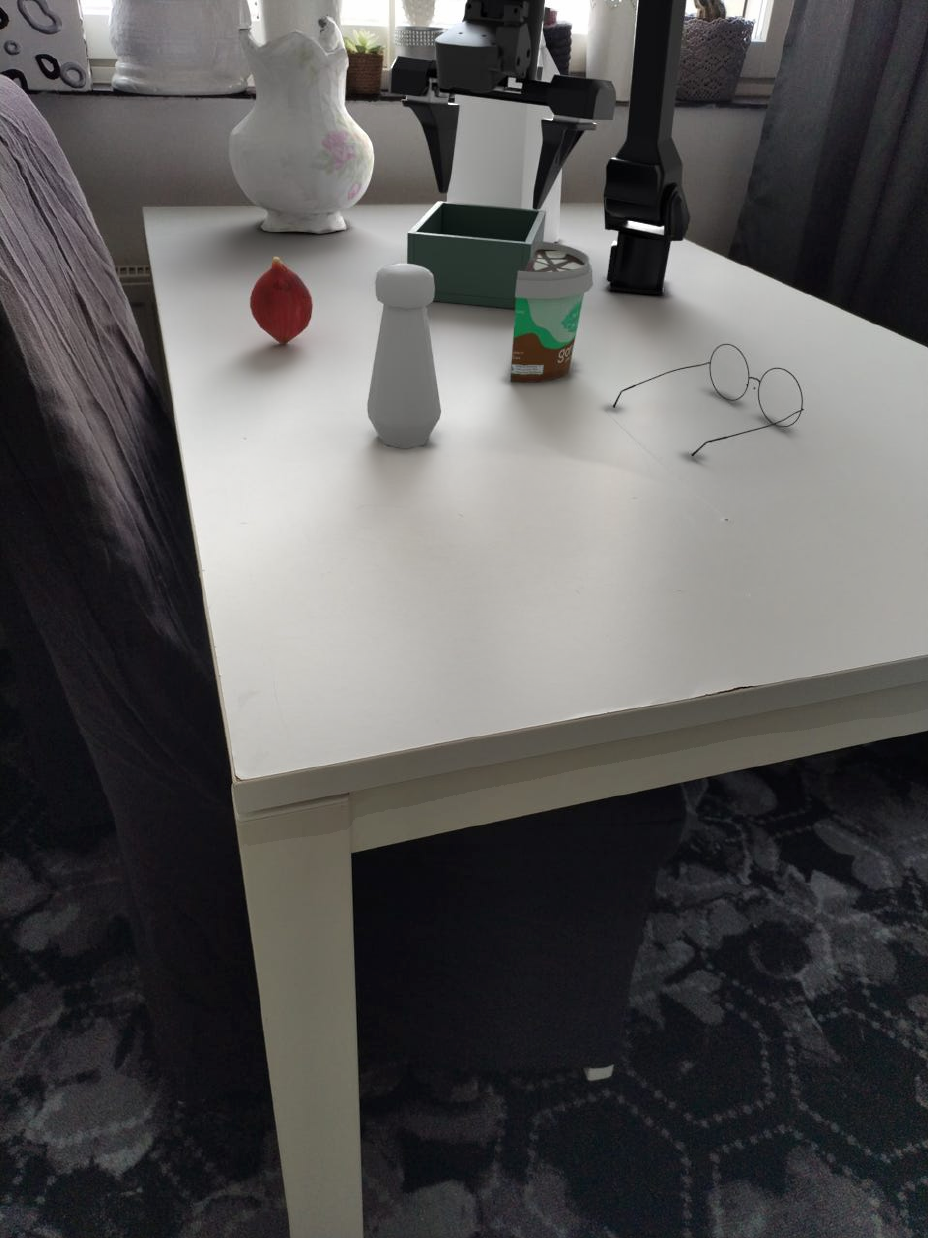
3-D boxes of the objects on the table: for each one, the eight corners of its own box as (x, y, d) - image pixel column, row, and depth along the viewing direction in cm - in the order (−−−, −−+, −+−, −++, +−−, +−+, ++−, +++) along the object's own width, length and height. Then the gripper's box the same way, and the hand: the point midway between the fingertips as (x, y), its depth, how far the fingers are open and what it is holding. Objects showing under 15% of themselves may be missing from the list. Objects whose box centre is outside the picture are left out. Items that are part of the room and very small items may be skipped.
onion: (324, 338, 88) (320, 254, 83) (297, 357, 84) (291, 269, 79) (272, 329, 89) (265, 246, 85) (242, 347, 85) (234, 260, 80)
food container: (575, 395, 79) (589, 280, 73) (507, 386, 80) (516, 272, 74) (587, 350, 89) (601, 245, 83) (526, 343, 90) (536, 238, 84)
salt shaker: (367, 421, 73) (364, 255, 65) (437, 422, 73) (442, 257, 65) (367, 452, 68) (364, 277, 60) (442, 453, 68) (448, 279, 61)
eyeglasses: (699, 462, 69) (713, 401, 66) (604, 403, 78) (613, 347, 75) (802, 439, 74) (820, 381, 71) (702, 386, 83) (714, 332, 80)
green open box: (540, 269, 113) (546, 210, 109) (525, 310, 99) (531, 244, 95) (436, 259, 114) (437, 200, 110) (406, 298, 100) (407, 232, 96)
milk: (558, 240, 126) (580, 20, 110) (518, 256, 118) (536, 20, 102) (486, 226, 131) (498, 13, 115) (443, 240, 123) (450, 13, 107)
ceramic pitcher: (272, 210, 137) (244, 16, 123) (395, 209, 135) (381, 11, 120) (223, 244, 120) (183, 23, 105) (362, 244, 118) (341, 18, 103)
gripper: (357, -36, 67) (350, 190, 75) (587, -18, 61) (552, 226, 69) (426, -18, 76) (414, 183, 84) (634, 0, 70) (598, 215, 78)
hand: (488, 200), depth 79 cm, fingers open, 9 cm apart
